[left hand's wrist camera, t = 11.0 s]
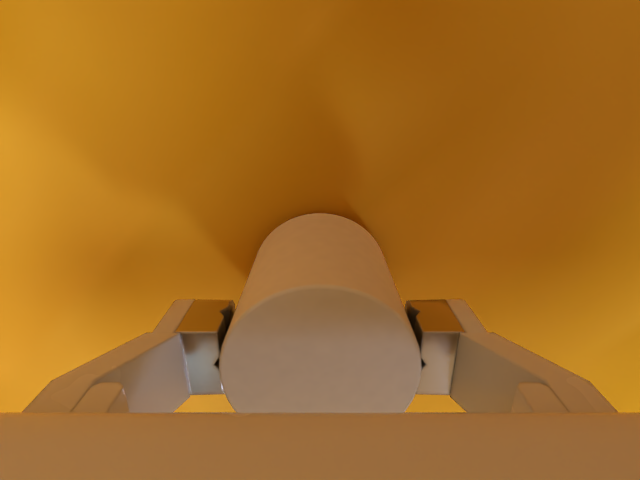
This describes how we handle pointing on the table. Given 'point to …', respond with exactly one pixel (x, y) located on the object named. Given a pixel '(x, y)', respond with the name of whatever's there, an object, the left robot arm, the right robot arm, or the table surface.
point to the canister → (320, 326)
